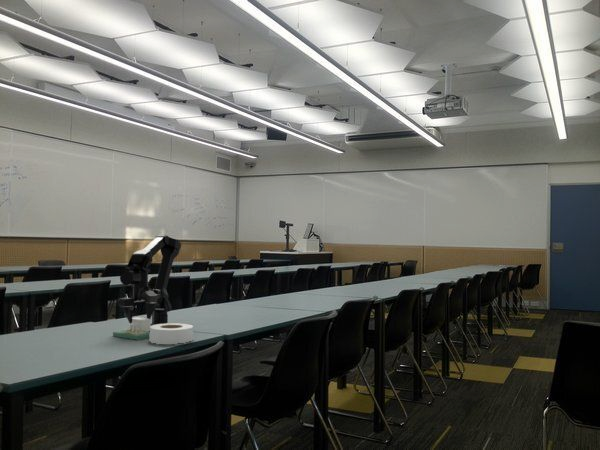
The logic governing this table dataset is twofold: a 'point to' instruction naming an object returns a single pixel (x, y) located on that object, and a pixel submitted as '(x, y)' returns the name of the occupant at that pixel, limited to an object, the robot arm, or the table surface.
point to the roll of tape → (170, 333)
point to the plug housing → (141, 323)
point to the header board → (132, 333)
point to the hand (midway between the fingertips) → (139, 321)
